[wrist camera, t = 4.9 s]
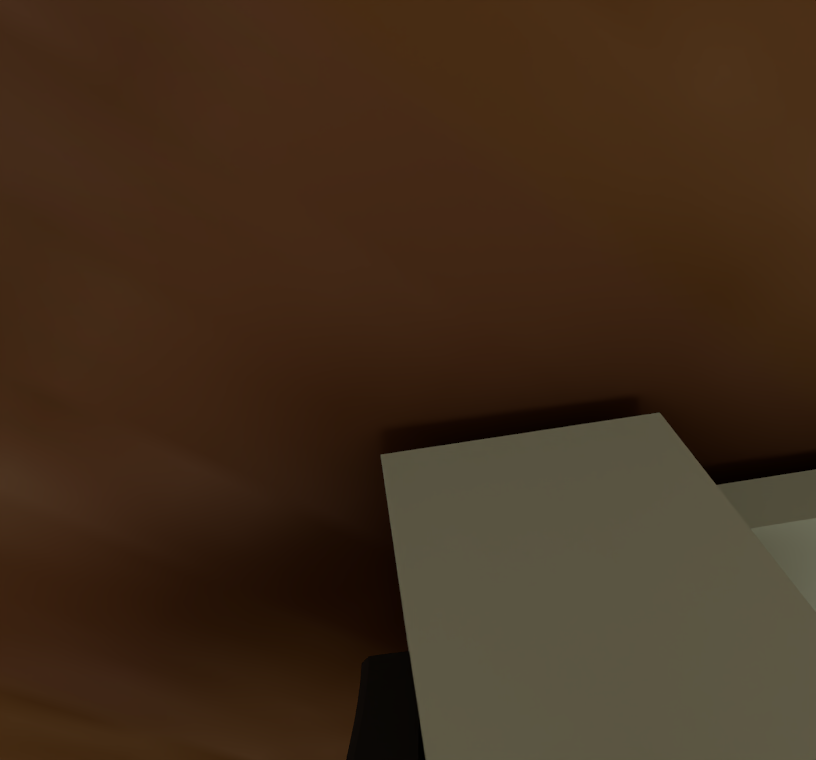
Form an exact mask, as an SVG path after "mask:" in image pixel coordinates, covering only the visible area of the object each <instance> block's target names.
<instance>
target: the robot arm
mask: <svg viewBox="0 0 816 760" xmlns="http://www.w3.org/2000/svg"><path fill="white" fill-rule="evenodd" d="M346 760H425V755H424V748H423V741H422V734H421V727H420V720H419V713H418V706H417V700H416V693H415V686H414V680H413V673H412V667H411V660H410V653H409V651H405V652H398V653H390V654H383V655H376V656H369V657H368V658H367V659H366V660H365V661H364V662H363V663H362V668H361V681H360V689H359V696H358V703H357V709H356V715H355V721H354V726H353V731H352V736H351V740H350V745H349V749H348V754H347V759H346Z"/></svg>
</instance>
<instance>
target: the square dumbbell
mask: <svg viewBox="0 0 816 760" xmlns="http://www.w3.org/2000/svg"><path fill="white" fill-rule="evenodd" d="M381 462H382V469H383V476H384V483H385V490H386V497H387V504H388V511H389V518H390V525H391V532H392V539H393V546H394V553H395V560H396V567H397V574H398V581H399V588H400V595H401V602H402V609H403V616H404V622H405V629H406V636H407V643H408V650H409V653H410V660H411V667H412V673H413V680H414V686H415V693H416V700H417V706H418V713H419V720H420V727H421V734H422V741H423V748H424V755H425V760H816V469H815V470H809V471H803V472H796V473H790V474H783V475H777V476H771V477H764V478H758V479H752V480H745V481H739V482H733V483H726V484H720V485H716V484H715V483H714V481H713V480H712V479H711V478H710V476H709V475H708V474H707V472H706V471H705V470H704V469H703V467H702V466H701V465H700V463H699V462H698V461H697V460H696V458H695V457H694V456H693V454H692V453H691V452H690V451H689V449H688V448H687V447H686V446H685V444H684V443H683V442H682V440H681V439H680V438H679V437H678V435H677V434H676V433H675V431H674V430H673V429H672V428H671V426H670V425H669V424H668V422H667V421H666V420H665V419H664V417H663V416H662V415H661V414H660V413H653V414H646V415H640V416H633V417H627V418H620V419H613V420H607V421H600V422H593V423H587V424H580V425H574V426H567V427H560V428H554V429H547V430H540V431H534V432H527V433H521V434H514V435H507V436H501V437H494V438H487V439H481V440H474V441H468V442H461V443H454V444H448V445H441V446H434V447H428V448H421V449H415V450H408V451H401V452H395V453H388V454H381Z"/></svg>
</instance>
